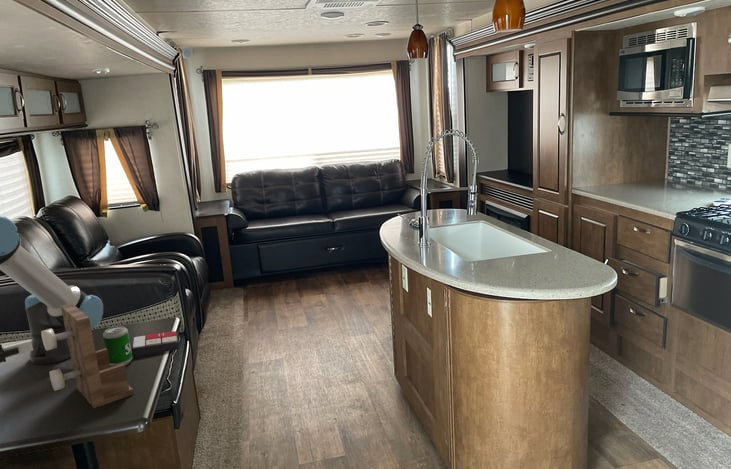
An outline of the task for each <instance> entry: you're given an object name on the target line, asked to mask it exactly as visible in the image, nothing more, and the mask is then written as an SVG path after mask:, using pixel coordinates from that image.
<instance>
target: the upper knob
mask: <svg viewBox="0 0 731 469" xmlns="http://www.w3.org/2000/svg"><path fill="white" fill-rule="evenodd" d="M41 335H42V340H43V344H44V347H45V349H46V351H48V350H51V349H55V348H57V342H56V341H58V340H62V339H65V338H69V337H72V336H74V332H73V330H70V331H66V332H63V333H59V334H54V331H53V329H48V330H44V331H41Z"/></svg>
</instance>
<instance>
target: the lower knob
mask: <svg viewBox="0 0 731 469" xmlns="http://www.w3.org/2000/svg"><path fill="white" fill-rule="evenodd" d="M80 375H82V374H81V369H79V370H75V371H73V370H72V371H69V372H66V373H62V370H61V369H60V368H55V369H53V370H50V371H49V379H50V380H49V381H50V382H51V387H52V389H53V391H55V392H56V391H58V390H62V389H65V388H66V383H65V381H68V380H70V379H75V377H77V376H80Z"/></svg>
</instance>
